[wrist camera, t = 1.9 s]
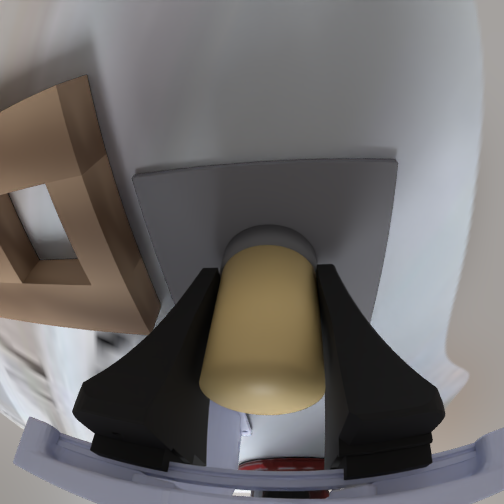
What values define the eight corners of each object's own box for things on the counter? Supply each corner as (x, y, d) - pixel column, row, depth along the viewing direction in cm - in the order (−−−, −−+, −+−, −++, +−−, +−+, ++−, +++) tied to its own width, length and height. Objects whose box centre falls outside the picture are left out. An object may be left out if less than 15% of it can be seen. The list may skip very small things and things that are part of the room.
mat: (365, 332, 17) (366, 336, 16) (190, 335, 18) (189, 339, 18) (395, 159, 10) (397, 162, 10) (134, 174, 12) (131, 178, 11)
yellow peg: (315, 295, 15) (323, 415, 10) (230, 297, 15) (211, 413, 10) (317, 222, 12) (335, 354, 7) (216, 226, 13) (179, 354, 8)
